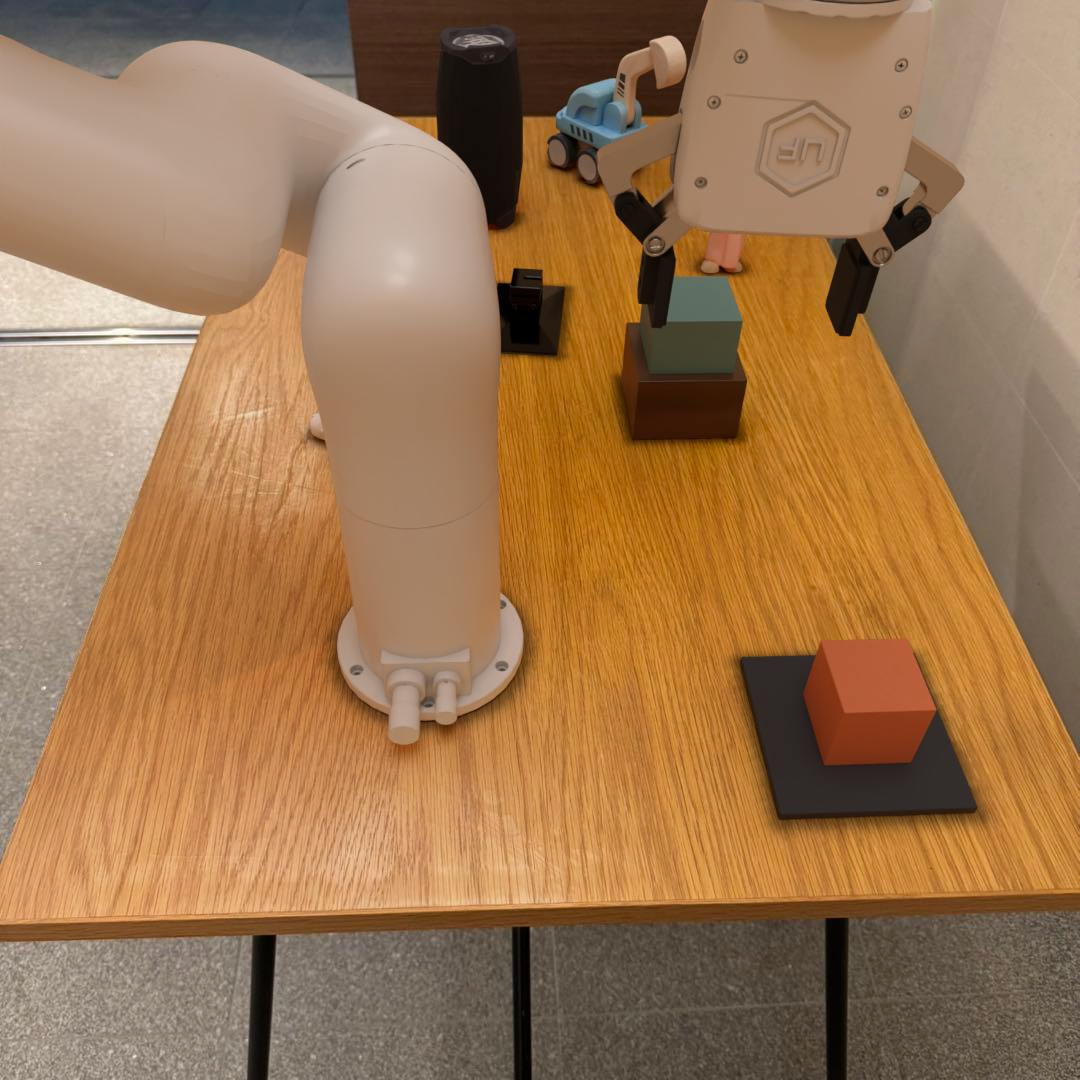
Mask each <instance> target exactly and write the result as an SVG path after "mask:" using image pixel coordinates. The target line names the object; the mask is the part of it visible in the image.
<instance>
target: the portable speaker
mask: <svg viewBox="0 0 1080 1080" xmlns="http://www.w3.org/2000/svg"><path fill="white" fill-rule="evenodd" d="M439 37H440V38H439V43H438V44H439V45H438V46H440V52H439V59H438V67H437V77H436V86H435V110H436V111H435V112H436V113H435V114H436V134H437V135H436V136H437V137H436V139H437V140H438V141H440V142H441V143H443V144H444V145H446V146H447V147H448V148H450V149H451V150H452V151H453V152H454V153H455V154H456V155H457V156H458V157H459V158H460V159H461V160H462V161H463V162H464V163H465V165H466V166H467V167H468V169H469V170H470V172H471V173H472V175H473V177H474V178H475V180H476V182H477V185H478V187H479V189H480V192H481V195H482V198H483V202H484V206H485V212H486V218H487V225H496V227H497V228H498V229H506V228H508V227H509V226H510V225H512V224H513V223H514V222H515V220H516V213H517V205H518V203H519V196H520V189H521V179H522V173H523V164H524V89H523V81H522V74H521V66H520V58H519V53H518V52H519V51H518V43H517V36H516V34H515V31H514V30H513V29H511V28H509V27H508V26H505V25H501V24H500V25H499V24H493V23H489V24H487V25H486V26H476V27H460V28H459V27H457V26H448V27H446V28H444V29H442V30H441V33H440V35H439Z"/></svg>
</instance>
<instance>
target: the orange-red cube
mask: <svg viewBox="0 0 1080 1080" xmlns="http://www.w3.org/2000/svg"><path fill="white" fill-rule="evenodd" d="M913 652H914V651H913V649H912V646H911V644H910V641H909V638H908V637H907V638H906V637H900V638H898V637H897V638H895V637H894V638H862V639H861V638H860V639H859V638H857V639H828V640H827V639H824V640H822V639H821V640H820V642H819V644H818V647H817V651H816V653H815V655H816V657H815V660H814V663H813V666H812V669H811V672H810V675H809V678H808V681H807V684H806V687H805V690H804V693H803V696H804V699H805V703H806V706H807V709H808V713H809V716H810V720H811V723H812V726H813V730H814V733H815V736H816V740H817V743H818V747H819V750H820V753H821V757H822V760H823V763H824V765H854V764H885V763H910V762H911V761H912V759H913V757H914V755H915V753H916V751H917V749H918V747H919V745H920V743H921V741H922V739H923V737H924V735H925V733H926V731H927V729H928V727H929V725H930V722H931V720H932V718H933V716H934V714H935V712H936V707H937V706H936V707H935V704H936V703H935V704H934V702H935V701H934V702H933V700H932V697H933V696H932V697H931V695H930V692H931V691H930V692H929V690H928V687H929V686H928V687H927V685H928V684H927V685H926V683H925V680H926V679H925V680H924V678H923V675H924V674H923V675H922V673H921V670H922V669H921V670H920V668H921V667H920V668H919V665H920V664H919V665H918V663H919V662H918V663H917V661H916V658H917V657H916V658H915V656H914V653H915V652H914V653H913Z"/></svg>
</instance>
